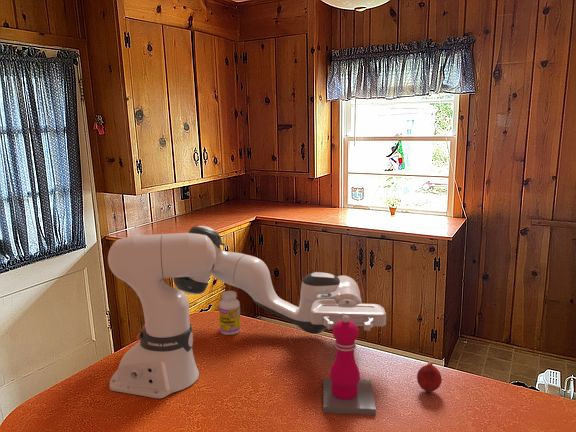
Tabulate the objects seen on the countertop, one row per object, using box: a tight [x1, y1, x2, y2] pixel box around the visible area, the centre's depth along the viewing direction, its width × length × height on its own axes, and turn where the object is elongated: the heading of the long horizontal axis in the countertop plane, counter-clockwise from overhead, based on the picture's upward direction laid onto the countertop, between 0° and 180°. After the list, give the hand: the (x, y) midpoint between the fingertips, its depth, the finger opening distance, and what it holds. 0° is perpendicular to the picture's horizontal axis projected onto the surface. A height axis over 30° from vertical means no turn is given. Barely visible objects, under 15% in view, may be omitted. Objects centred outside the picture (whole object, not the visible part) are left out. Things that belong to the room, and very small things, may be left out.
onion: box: [416, 361, 442, 393], centre depth 113 cm, size 6×6×8 cm
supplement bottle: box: [218, 290, 241, 336], centre depth 146 cm, size 7×7×13 cm
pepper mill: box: [329, 315, 361, 400], centre depth 109 cm, size 7×7×20 cm
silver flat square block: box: [322, 377, 377, 416], centre depth 111 cm, size 12×12×2 cm
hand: (348, 327), depth 117 cm, fingers open, 8 cm apart
